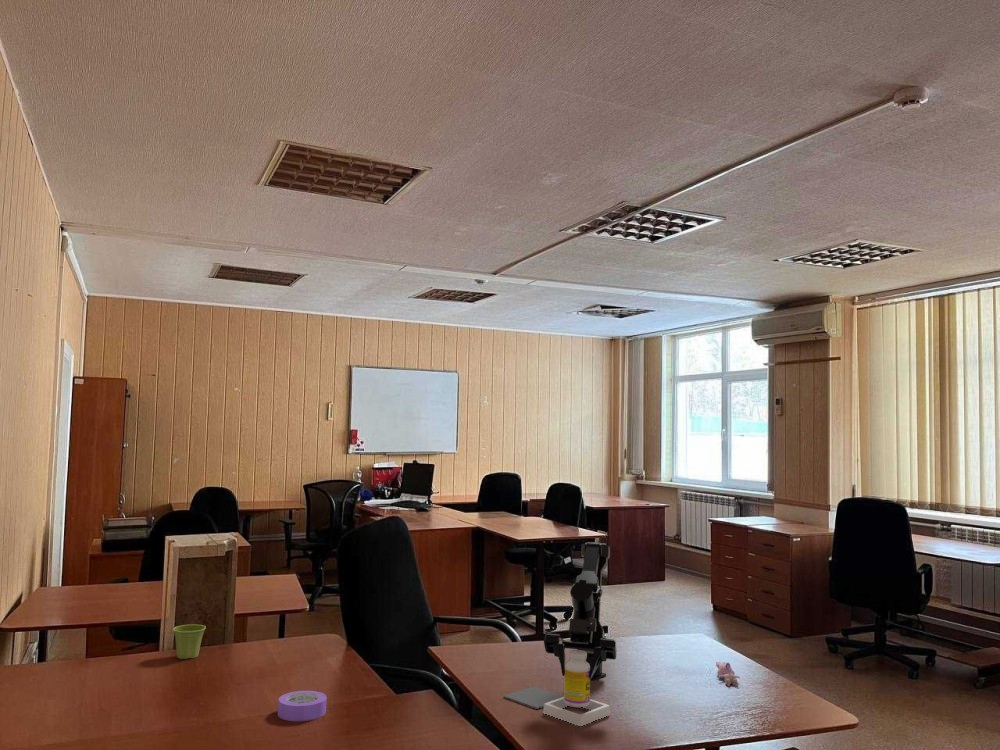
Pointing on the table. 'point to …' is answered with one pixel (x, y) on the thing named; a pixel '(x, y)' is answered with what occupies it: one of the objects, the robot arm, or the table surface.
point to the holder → (596, 713)
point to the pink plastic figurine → (727, 673)
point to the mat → (533, 697)
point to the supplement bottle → (577, 679)
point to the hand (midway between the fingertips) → (576, 676)
